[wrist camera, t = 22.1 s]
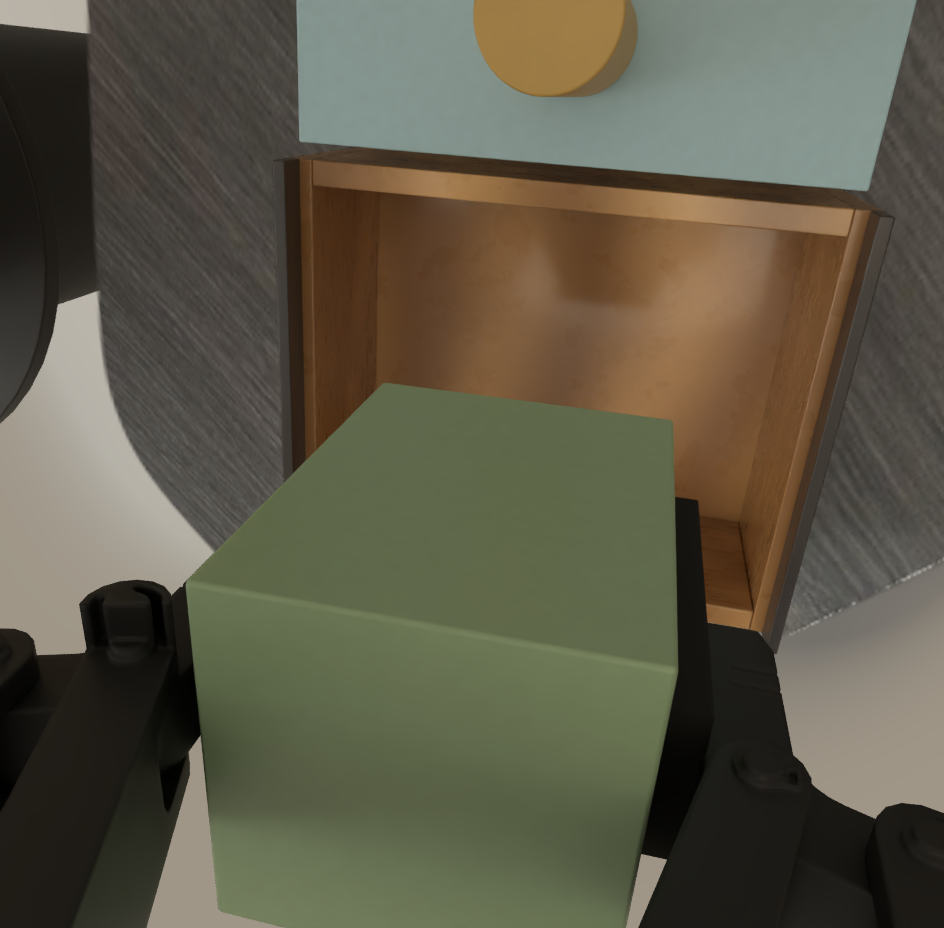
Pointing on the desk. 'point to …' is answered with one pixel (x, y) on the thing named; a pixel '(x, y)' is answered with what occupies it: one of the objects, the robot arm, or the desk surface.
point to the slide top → (610, 82)
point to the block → (442, 669)
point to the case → (592, 321)
